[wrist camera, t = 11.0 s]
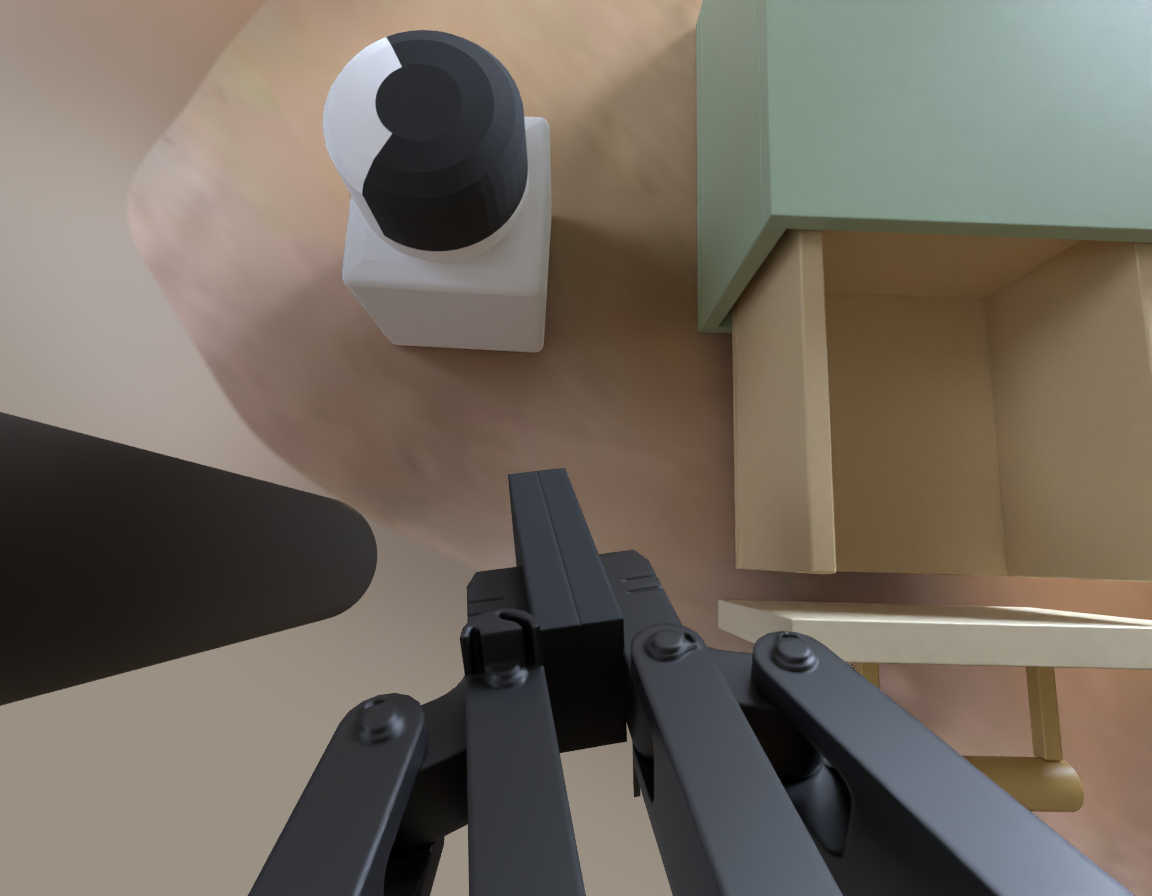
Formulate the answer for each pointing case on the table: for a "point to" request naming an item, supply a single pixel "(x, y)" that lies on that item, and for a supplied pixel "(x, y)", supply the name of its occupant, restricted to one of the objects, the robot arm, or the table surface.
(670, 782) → the robot arm
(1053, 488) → the drawer
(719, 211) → the cabinet
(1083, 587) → the table surface
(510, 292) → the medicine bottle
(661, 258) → the table surface
